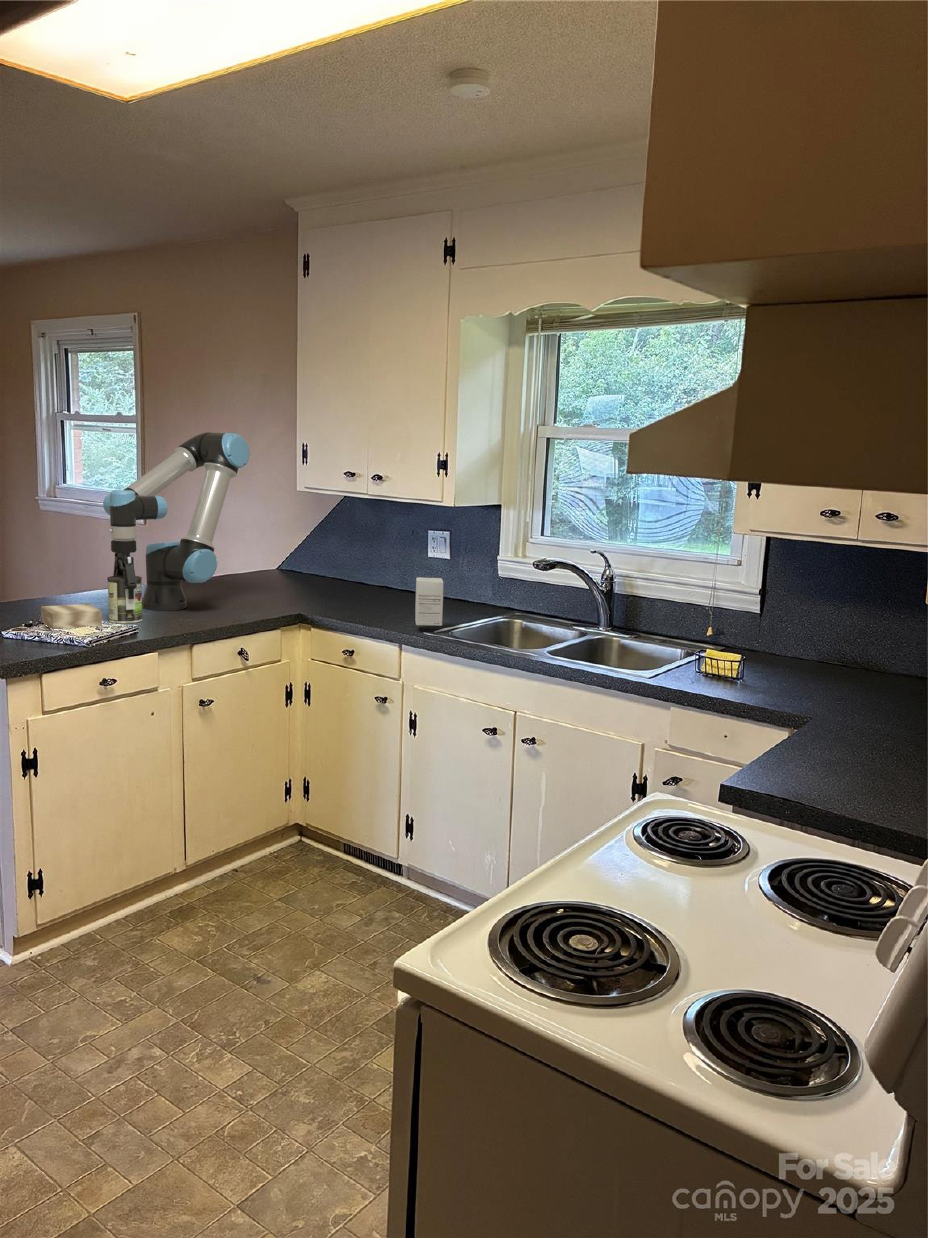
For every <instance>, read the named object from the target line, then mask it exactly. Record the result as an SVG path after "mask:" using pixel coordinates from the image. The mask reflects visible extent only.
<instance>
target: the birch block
mask: <svg viewBox="0 0 928 1238" xmlns="http://www.w3.org/2000/svg"><path fill="white" fill-rule="evenodd" d="M40 613H41V616H40V619H41V623H42V622H43V623H44V624H45V625H47V626H48V627H49V628H52V629H53V630H54V629H59V628H74V627H86V626H87V627H88V626H102V622H103V621H102V609H99V608H97V607H95V606H94V605H92V604H90V603H79V604H77V603H76V604H61V605H58V604H57V605H46V606H44V605H43V606H40ZM102 627H103V626H102Z"/></svg>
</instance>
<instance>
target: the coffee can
mask: <svg viewBox="0 0 928 1238" xmlns="http://www.w3.org/2000/svg"><path fill="white" fill-rule="evenodd" d="M135 576H136V583H137V587H136V588H135V609H131V610H126V594H125V589H124V587H125V586H126V583H125V579H124V575H122V576H113V575H112V576H107V578H106V580H107V597H108V598H107V599H108V602H107V603H108V604H107V605H108V622H109V623H112V624H136V623H140V622H143V608H142V599H143V595H142V580H143V579H142V578H143V577H142V576H140V575H135Z"/></svg>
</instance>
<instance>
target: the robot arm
mask: <svg viewBox="0 0 928 1238" xmlns="http://www.w3.org/2000/svg"><path fill="white" fill-rule="evenodd" d="M249 460H250V448H249V446H248V442H247V441H246V439H245V438H244V437H243V436H242V435H240V434H238V433H232V432H203V433H199V434H197V435H195V436H193V437H191V438H190V439H187V440H186V441H185V442H182V443H181V444H180V445H178V446H177V447H175V449H174V450H173V453H172V454H171V455H170V456H169V457H167V458H165V459H164V460H163V461H162V462H160V463H159V464H157V465H156V466H155V467H153V468H152V469H151V470H149V471H148V472H146V473H145V474H143V475H142V476H141V477H139V478H138V479H137V480H135V481H134V482H132V483H131V484H129V485H128V486H127V487H126V488H124V489H116V490H115V489H114V490H111V491H110V493H109V494H107V495H106V496H105V497H104V499H103V501H102V502H103V504H102V505H103V506H102V507H103V509H104V511H105V513H106V514H107V515H109V517H110V518H109V519H110V521H109V523H110V528H109V529H108V532H109V533H110V538H111V539H112V540H110V551H111V553H114V564H113V573H112V574H113V575H112V576H122V575H124V579H125V583H126V586H125V587H124V589H125V594H126V610H131V609H135V588H136V587H137V583H136V576H137V575H136V571H135V564H134V560H135V559H134V556H131V554H132V553H136V551H137V541H136V539H137V526H136V525H137V521H143V520H144V521H147V520H149V521H150V520H154V521H156V520H161V519H163V518H165V517H166V516H167V513H168V503H167V500H166V499H165V498H164V497H162V496H160V495H158V494H159V493H160V492H162V491H163V490H164V489H165V488H167V487H169V486H170V485H171V484H172V483H174V482H176V481H177V480H178V479H179V478H181V477H182V476H183V475H185V474H186V473H187V472H188V473H189V472H193V471H195V470H197V469H199V468H201V467H202V468H203V467H204V469H205V474H204V478H203V482H202V485H201V488H200V490H199V493H198V498H197V501H196V504H195V507H194V510H193V514H192V517H191V520H190V524H189V528H188V531H187V534H186V536H183V537H181V538H180V541H172V542H171V541H169V542H168V541H167V542H157V543H156V542H155V543H149V544H148V545H147V544H146V545H147V546H146V548H145V554H144V555H145V574H146V575H145V576H146V587H145V590H144V593H143V595H142V610H146V611H154V612H159V611H160V612H168V611H169V612H170V611H180V610H184V608H185V609H187V608H186V607H188V604H187V603H188V602H187V598H186V595H185V592H184V589H183V587H182V582H188V583H192V584H196V583H197V584H198V583H200V584H202V583H205V582H207V581H209V580H210V579H212V577H213V576H214V574H215V572H216V570H217V567H218V560H217V556H216V554H215V553H214V552H215V547H214V545H213V539H214V536H215V533H216V530H217V526H218V523H219V520H220V516H221V514H222V510H223V506H224V503H225V501H226V500H225V499H226V496H227V493H228V490H229V487H230V482H231V481H232V479H233V478H235V477H237V475H238V471H239V469H241V468H243V467H245V466H246V465H247V464H248V462H249Z"/></svg>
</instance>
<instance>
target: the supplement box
mask: <svg viewBox="0 0 928 1238" xmlns="http://www.w3.org/2000/svg"><path fill="white" fill-rule="evenodd" d="M415 580H416V581H415V604H414V605H415V606H414V607H415V608H414V609H415V610H414V611H415V612H414V613H415V616H414V617H415V618H414V620H415V625H416V626H443V612H444V611H443V610H444V580H443V578H441V577H419V576H418V577H416V579H415Z"/></svg>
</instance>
